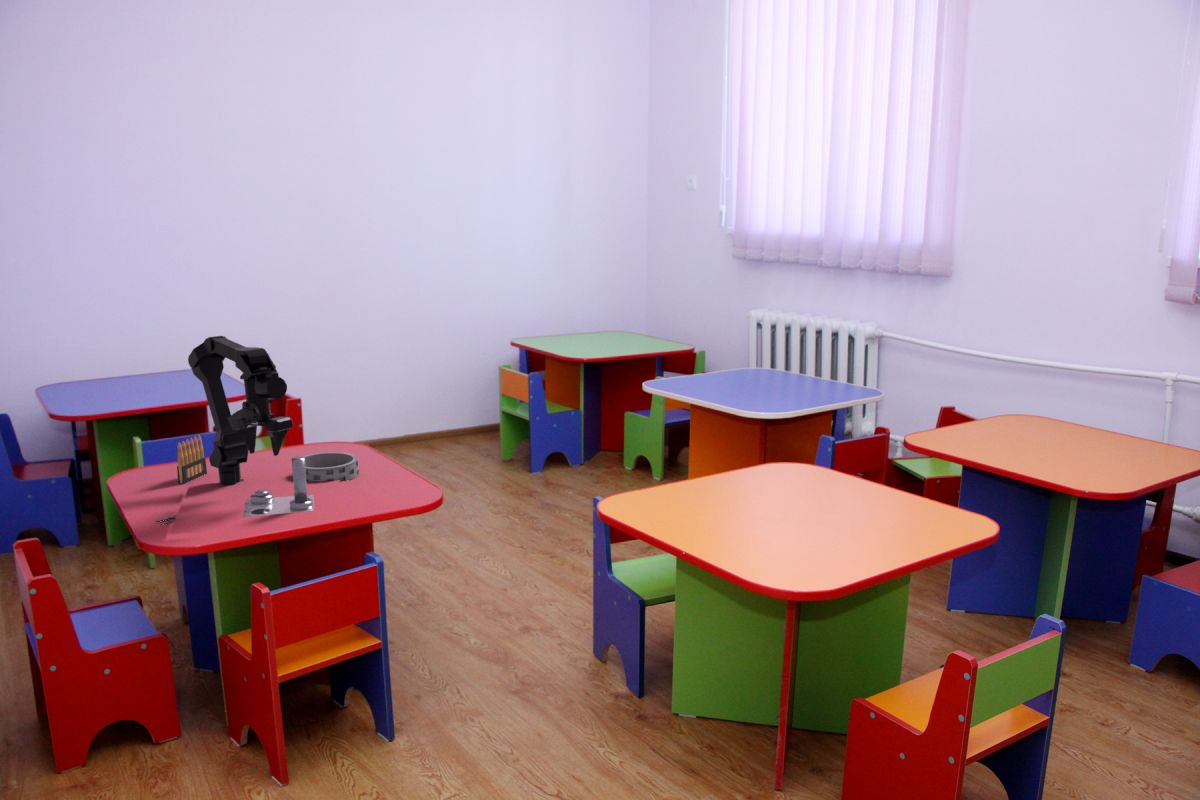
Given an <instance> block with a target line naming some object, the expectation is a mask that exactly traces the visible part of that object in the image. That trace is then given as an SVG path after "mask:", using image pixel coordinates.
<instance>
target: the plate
mask: <svg viewBox="0 0 1200 800" xmlns="http://www.w3.org/2000/svg"><path fill="white" fill-rule="evenodd" d="M307 498H310V499H312V500H313V507H312V508H310V509H307V510H292V509H290V501H292V500H294V495H291V496H290V495H288V496H278V497H273V501H272V502H270V503H266V504H252V503H251V499H246V502H245V505H244V510H243V514H242V518H248V517H259V516H261V517H262V516H271V515H272V516H273V515H282V514H283V515H285V514H294V513H296V514H297V513H303V512H304V513H305V512H314V511H315V505H314V504H315V497H314V494H307Z"/></svg>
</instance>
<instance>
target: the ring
mask: <svg viewBox="0 0 1200 800" xmlns="http://www.w3.org/2000/svg"><path fill="white" fill-rule="evenodd" d="M302 457H305V468H306V481H307V480H308V482H326V481H330V480H333V481H336V480H339V483H342V482H343V481H344V482H348V481H347V480H349V481H351V480H353V478H354V479H356V478H357V477H358V476H359V473H360V471H359V469H360V468H359V459H358V457H357V455H355V454H352V453H349V452H341V451H340V452H339V451H336V452H335V451H330V452H329V451H327V452H317V453H311V454H307V455H304V456H302ZM356 476H357V477H356Z"/></svg>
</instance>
